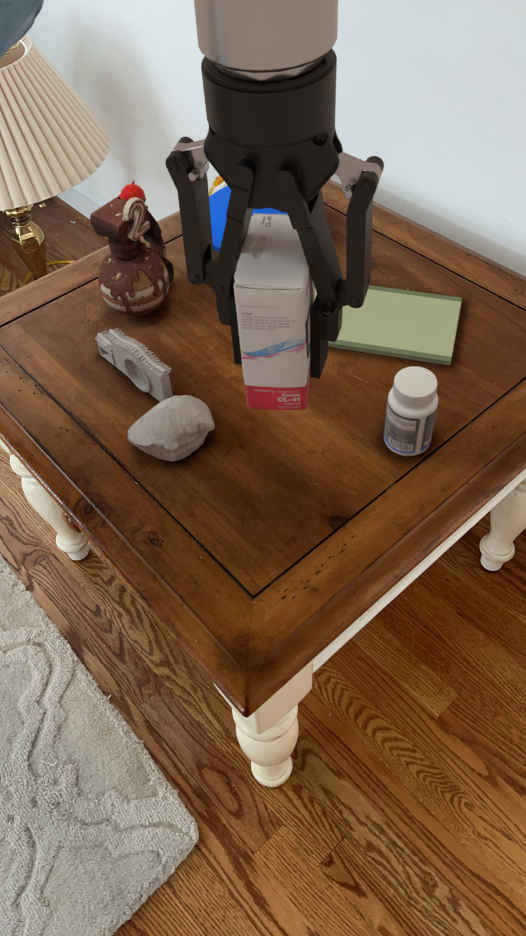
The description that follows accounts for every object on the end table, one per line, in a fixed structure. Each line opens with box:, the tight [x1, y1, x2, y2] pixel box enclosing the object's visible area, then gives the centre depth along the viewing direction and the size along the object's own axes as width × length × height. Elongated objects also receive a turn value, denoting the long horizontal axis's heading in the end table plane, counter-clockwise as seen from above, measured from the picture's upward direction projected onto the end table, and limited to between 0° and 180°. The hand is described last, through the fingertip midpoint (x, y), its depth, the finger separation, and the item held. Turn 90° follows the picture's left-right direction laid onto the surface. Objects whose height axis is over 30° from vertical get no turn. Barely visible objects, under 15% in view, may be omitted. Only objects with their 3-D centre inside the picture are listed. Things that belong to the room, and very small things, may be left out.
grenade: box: [89, 179, 175, 317], centre depth 84 cm, size 9×8×15 cm
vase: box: [209, 185, 288, 254], centre depth 95 cm, size 16×16×7 cm
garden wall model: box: [94, 328, 174, 403], centre depth 80 cm, size 12×2×6 cm, turn 44°
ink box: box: [234, 213, 315, 411], centre depth 55 cm, size 9×5×12 cm, turn 172°
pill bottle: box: [383, 365, 439, 457], centre depth 72 cm, size 5×5×8 cm
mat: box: [315, 284, 463, 366], centre depth 86 cm, size 18×11×1 cm, turn 75°
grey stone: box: [127, 394, 216, 462], centre depth 75 cm, size 9×8×5 cm
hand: (281, 359), depth 59 cm, fingers closed on ink box, 5 cm apart
